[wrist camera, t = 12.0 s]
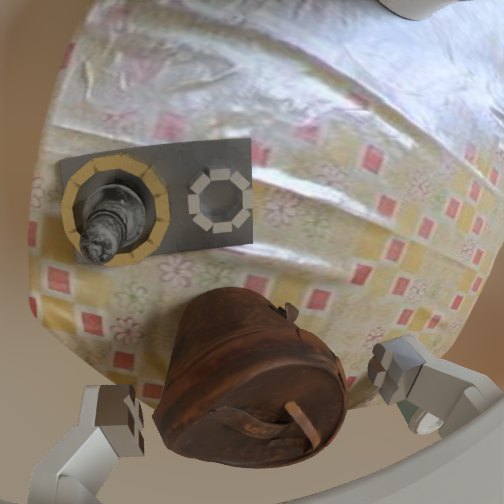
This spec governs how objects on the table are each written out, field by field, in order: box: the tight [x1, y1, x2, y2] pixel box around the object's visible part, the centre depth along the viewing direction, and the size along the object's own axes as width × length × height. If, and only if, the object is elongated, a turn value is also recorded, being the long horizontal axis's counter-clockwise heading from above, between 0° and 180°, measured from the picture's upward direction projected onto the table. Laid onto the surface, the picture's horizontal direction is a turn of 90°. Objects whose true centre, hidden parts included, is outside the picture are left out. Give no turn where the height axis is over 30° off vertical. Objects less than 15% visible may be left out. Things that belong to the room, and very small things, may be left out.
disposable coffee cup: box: [397, 399, 444, 435], centre depth 44 cm, size 11×11×15 cm
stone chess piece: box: [79, 181, 146, 265], centre depth 24 cm, size 6×6×12 cm
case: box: [152, 287, 349, 469], centre depth 31 cm, size 18×20×18 cm
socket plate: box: [60, 138, 253, 267], centre depth 29 cm, size 11×19×4 cm, turn 92°
